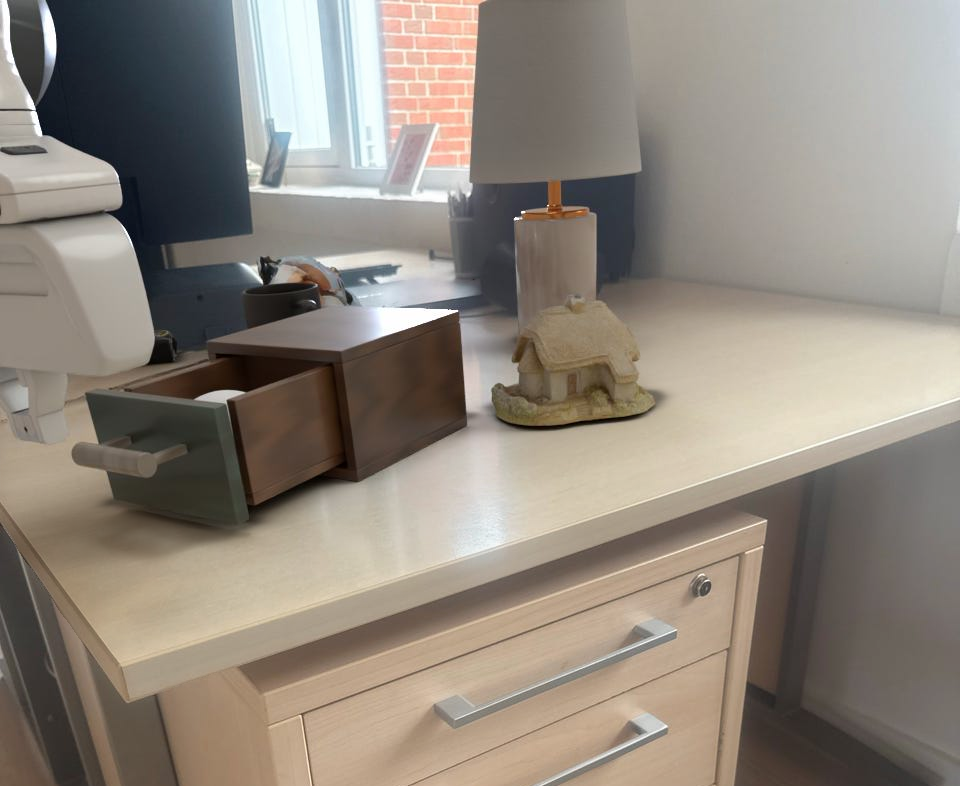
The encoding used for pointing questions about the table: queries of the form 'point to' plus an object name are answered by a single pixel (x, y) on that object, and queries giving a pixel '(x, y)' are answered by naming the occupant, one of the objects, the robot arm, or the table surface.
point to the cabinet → (373, 375)
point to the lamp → (553, 129)
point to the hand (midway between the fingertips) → (43, 440)
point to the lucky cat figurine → (307, 278)
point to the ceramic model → (573, 368)
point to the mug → (279, 302)
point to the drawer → (216, 435)
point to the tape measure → (163, 348)
